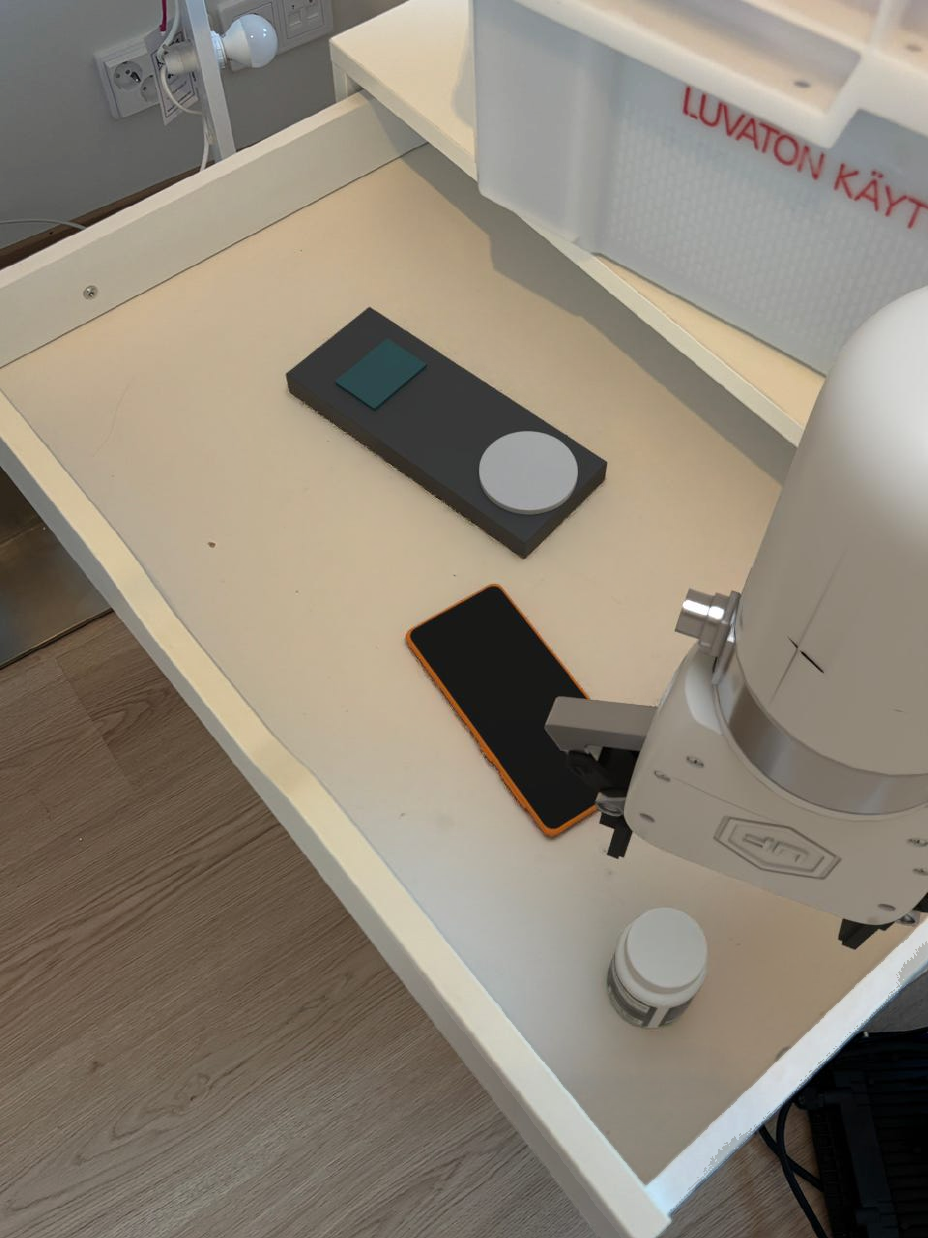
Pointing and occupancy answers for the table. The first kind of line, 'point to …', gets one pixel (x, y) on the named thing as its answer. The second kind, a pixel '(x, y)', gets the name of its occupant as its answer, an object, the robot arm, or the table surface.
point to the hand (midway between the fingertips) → (737, 868)
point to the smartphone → (507, 699)
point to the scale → (448, 430)
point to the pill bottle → (657, 967)
